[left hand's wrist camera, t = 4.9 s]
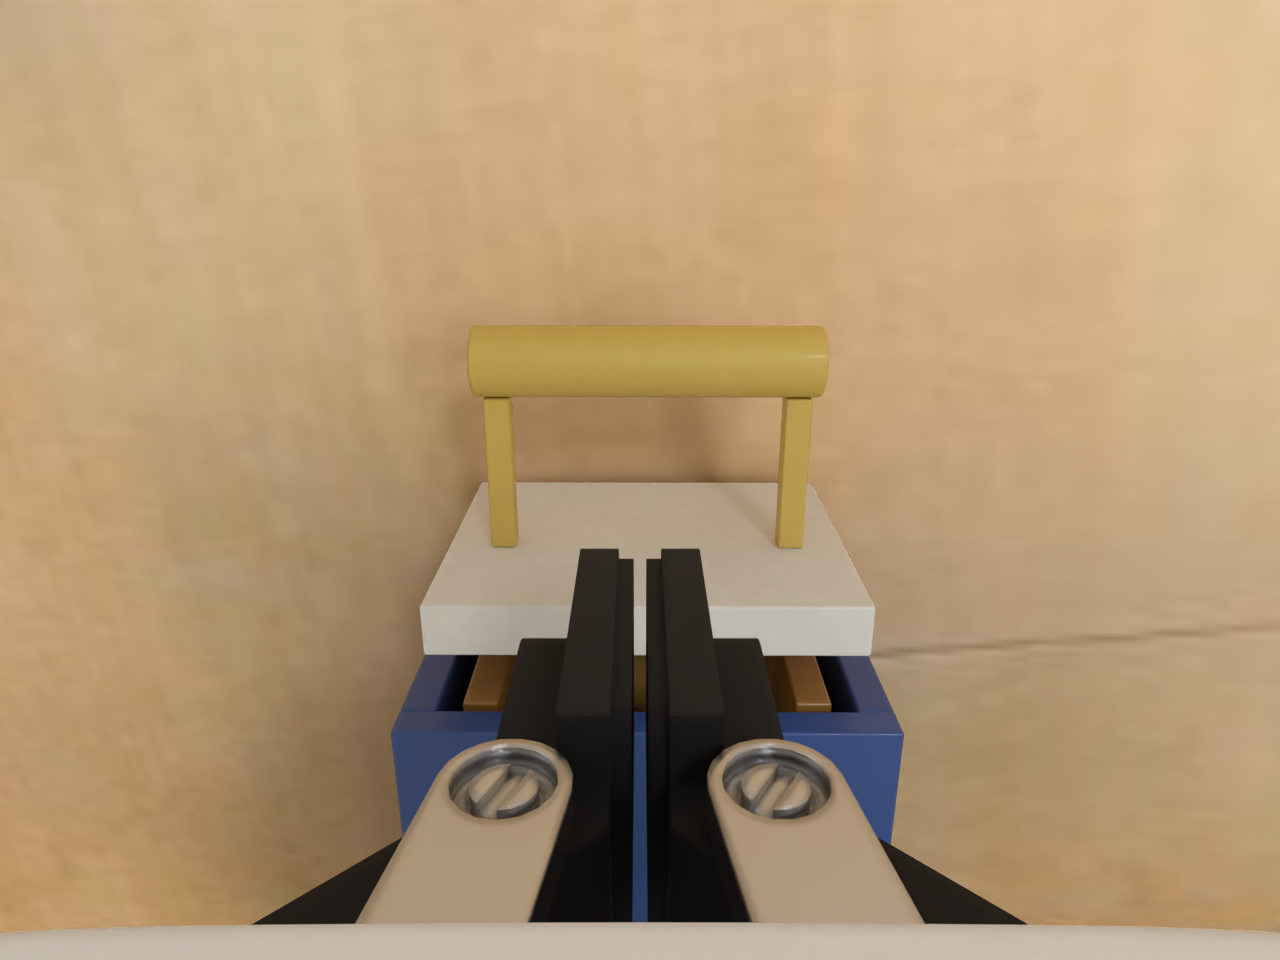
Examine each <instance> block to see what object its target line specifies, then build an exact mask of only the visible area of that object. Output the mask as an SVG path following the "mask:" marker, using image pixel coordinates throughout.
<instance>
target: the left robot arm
mask: <svg viewBox="0 0 1280 960" xmlns="http://www.w3.org/2000/svg"><path fill="white" fill-rule="evenodd" d="M633 814H634V559H619V549H580V554H579V561H578V567H577V574H576V580H575V587H574V594H573V600H572V607H571V614H570V620H569V627H568V634H567V638H522V639H521V641H520V644H519V648H518V652H517V656H516V660H515V664H514V668H513V673H512V677H511V681H510V685H509V689H508V693H507V697H506V701H505V705H504V709H503V713H502V717H501V721H500V726H499V730H498V734H497V738H496V740H495V741H490V742H485V743H481V744H478V745H476V746H474V747H471V748H469V749H466V750H464V751H462V752H461V753H459V754H458V755H457V756H455V757H454V758H452V759H451V760H450V761H448V762H447V764H446V765H445V766H444V767H443V769H442V770H441V771H440V772H439V773H438V775H437V777H436V778H435V780H434V782H433V784H432V786H431V787H430V789H429V791H428V793H427V795H426V796H425V798H424V800H423V802H422V804H421V806H420V807H419V809H418V811H417V813H416V815H415V816H414V818H413V820H412V822H411V824H410V825H409V827H408V829H407V831H406V833H405V834H404V836H403V837H402V838H400V839H399V840H397V841H395V842H394V843H392V844H390V845H388V846H387V847H385V848H383V849H381V850H380V851H378V852H376V853H375V854H373V855H371V856H369V857H368V858H366V859H364V860H362V861H361V862H359V863H357V864H356V865H354V866H352V867H350V868H349V869H347V870H345V871H343V872H342V873H340V874H338V875H337V876H335V877H333V878H331V879H330V880H328V881H326V882H324V883H323V884H321V885H319V886H318V887H316V888H314V889H312V890H311V891H309V892H307V893H305V894H304V895H302V896H300V897H299V898H297V899H295V900H293V901H292V902H290V903H288V904H286V905H285V906H283V907H281V908H280V909H278V910H276V911H274V912H273V913H271V914H269V915H268V916H266V917H264V918H262V919H261V920H259V921H257V922H255V923H254V924H252V925H163V926H126V927H100V928H73V929H47V930H22V931H12V932H2V933H0V960H1280V933H1278V932H1268V931H1258V930H1234V929H1207V928H1181V927H1154V926H1117V925H1028V924H1026V923H1025V922H1023V921H1021V920H1019V919H1018V918H1016V917H1014V916H1012V915H1011V914H1009V913H1007V912H1006V911H1004V910H1002V909H1000V908H999V907H997V906H995V905H993V904H992V903H990V902H988V901H987V900H985V899H983V898H981V897H980V896H978V895H976V894H975V893H973V892H971V891H969V890H968V889H966V888H964V887H962V886H961V885H959V884H957V883H956V882H954V881H952V880H950V879H949V878H947V877H945V876H943V875H942V874H940V873H938V872H937V871H935V870H933V869H931V868H930V867H928V866H926V865H924V864H923V863H921V862H919V861H918V860H916V859H914V858H912V857H911V856H909V855H907V854H905V853H904V852H902V851H900V850H899V849H897V848H895V847H893V846H892V845H890V844H888V843H886V842H885V841H883V840H881V839H880V838H878V837H877V836H876V834H875V833H874V831H873V829H872V827H871V825H870V824H869V822H868V820H867V818H866V816H865V815H864V813H863V811H862V809H861V807H860V806H859V804H858V802H857V800H856V798H855V796H854V795H853V793H852V791H851V789H850V787H849V786H848V784H847V782H846V780H845V778H844V777H843V775H842V773H841V772H840V771H839V770H838V769H837V767H836V766H835V765H834V764H833V762H832V761H830V760H829V759H828V758H826V757H825V756H823V755H822V754H821V753H819V752H818V751H816V750H814V749H811V748H809V747H806V746H804V745H802V744H799V743H795V742H790V741H785V740H784V738H783V734H782V730H781V726H780V721H779V717H778V713H777V709H776V705H775V701H774V697H773V693H772V689H771V685H770V681H769V677H768V673H767V668H766V664H765V660H764V656H763V652H762V648H761V644H760V641H759V639H758V638H713V634H712V627H711V620H710V614H709V607H708V600H707V594H706V587H705V581H704V574H703V567H702V561H701V554H700V549H661V559H646V814H647V916H648V922H632V915H633Z"/></svg>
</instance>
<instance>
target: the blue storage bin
mask: <svg viewBox="0 0 1280 960" xmlns="http://www.w3.org/2000/svg"><path fill="white" fill-rule="evenodd" d="M478 656H479V655H426V654H425V657H424V659H423V661H422V663H421V666H420V668H419V670H418V672H417V675H416V677H415V679H414V682H413V684H412V686H411V688H410V691H409V693H408V695H407V697H406V700H405V702H404V704H403V707H402V709H401V712H400V713H399V715H398V718H397V720H396V722H395V724H394V727H393V729H392V731H391V739H392V748H393V756H394V765H395V774H396V783H397V791H398V800H399V809H400V818H401V826H402V835H403V836H404V834H405V833H406V831H407V829H408V827H409V825H410V824H411V822H412V820H413V818H414V816H415V815H416V813H417V811H418V809H419V807H420V806H421V804H422V802H423V800H424V798H425V796H426V795H427V793H428V791H429V789H430V787H431V786H432V784H433V782H434V780H435V778H436V777H437V775H438V773H439V772H440V771H441V770H442V769H443V767H444V766H445V765H446V764H447V762H448V761H450V760H451V759H452V758H454V757H455V756H457V755H458V754H459V753H461V752H462V751H464V750H466V749H469V748H471V747H474V746H476V745H478V744H481V743H485V742H490V741H495V740H496V738H497V734H498V730H499V726H500V721H501V717H502V713H503V711H463V702H464V699H465V696H466V693H467V690H468V687H469V684H470V681H471V678H472V675H473V672H474V669H475V666H476V663H477V659H478ZM815 657H816V660H817V663H818V666H819V669H820V672H821V675H822V678H823V681H824V684H825V687H826V690H827V693H828V695H829V698H830V701H831V704H832V705H831V712H777V713H778V717H779V721H780V726H781V730H782V734H783V738H784V740H785V741H790V742H795V743H799V744H802V745H804V746H806V747H809V748H811V749H814V750H816V751H818V752H819V753H821V754H822V755H823V756H825V757H826V758H828V759H829V760H830V761H832V762H833V764H834V765H835V766H836V767H837V769H838V770H839V771H840V772H841V773H842V775H843V777H844V778H845V780H846V782H847V784H848V786H849V787H850V789H851V791H852V793H853V795H854V796H855V798H856V800H857V802H858V804H859V806H860V807H861V809H862V811H863V813H864V815H865V816H866V818H867V820H868V822H869V824H870V825H871V827H872V829H873V831H874V833H875V834H876V836H877V837H878V838H880V839H881V840H883V841H885V842H886V843H888V844H890V845H891V837H892V828H893V820H894V812H895V804H896V796H897V787H898V779H899V771H900V763H901V755H902V746H903V738H904V733H903V731H902V729H901V727H900V724H899V722H898V720H897V718H896V715H895V714H894V712H893V710H892V707H891V705H890V703H889V701H888V698H887V696H886V694H885V692H884V689H883V687H882V685H881V683H880V681H879V678H878V676H877V674H876V672H875V669H874V667H873V665H872V663H871V661H870V658H869V656H815ZM632 922H648V916H647V814H646V712H634V814H633V915H632Z"/></svg>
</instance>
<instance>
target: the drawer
mask: <svg viewBox="0 0 1280 960" xmlns="http://www.w3.org/2000/svg"><path fill="white" fill-rule="evenodd" d="M828 365H829V350H828V340H827V335H826V332H825V329H824V328H823V327H821V326H474V327H472V328H471V330H470V333H469V337H468V345H467V371H468V379H469V385H470V388H471V391H472V393H473V395H474V396H477V397H485V398H484V399H483V415H484V431H485V447H486V463H487V479H488V482H482V483H481V485H480V487H479V489H478V491H477V493H476V495H475V497H474V499H473V501H472V503H471V505H470V507H469V509H468V511H467V513H466V515H465V517H464V519H463V521H462V523H461V525H460V527H459V529H458V531H457V533H456V535H455V537H454V539H453V541H452V543H451V545H450V547H449V549H448V551H447V553H446V555H445V557H444V559H443V561H442V563H441V565H440V567H439V569H438V571H437V573H436V575H435V577H434V579H433V581H432V583H431V585H430V587H429V589H428V591H427V593H426V595H425V597H424V599H423V601H422V603H421V605H420V618H421V628H422V639H423V649H424V654H426V655H479V656H478V659H477V663H476V666H475V669H474V672H473V675H472V678H471V681H470V684H469V687H468V690H467V693H466V696H465V699H464V702H463V711H503V709H504V705H505V701H506V697H507V693H508V689H509V685H510V681H511V677H512V673H513V668H514V664H515V660H516V656H517V652H518V648H519V644H520V641H521V639H522V638H567V634H568V627H569V620H570V614H571V607H572V600H573V594H574V587H575V580H576V574H577V567H578V561H579V554H580V549H619V559H634V712H646V559H661V549H700V554H701V561H702V567H703V574H704V581H705V587H706V594H707V600H708V607H709V614H710V620H711V627H712V634H713V638H758V639H759V641H760V644H761V648H762V652H763V656H764V660H765V664H766V668H767V673H768V677H769V681H770V685H771V689H772V693H773V697H774V701H775V705H776V709H777V712H831V705H832V704H831V701H830V698H829V695H828V693H827V690H826V687H825V684H824V681H823V678H822V675H821V672H820V669H819V666H818V663H817V660H816V657H815V656H870V654H871V649H872V639H873V629H874V619H875V610H876V608H875V606H874V604H873V602H872V600H871V598H870V596H869V594H868V592H867V590H866V588H865V586H864V585H863V583H862V581H861V579H860V577H859V575H858V573H857V571H856V569H855V567H854V565H853V563H852V561H851V559H850V557H849V555H848V553H847V551H846V549H845V547H844V546H843V544H842V542H841V540H840V538H839V536H838V534H837V532H836V530H835V528H834V526H833V524H832V522H831V520H830V518H829V516H828V514H827V512H826V510H825V508H824V507H823V505H822V503H821V501H820V499H819V497H818V495H817V493H816V491H815V489H814V487H813V485H812V483H807V476H808V462H809V447H810V433H811V418H812V404H813V401H812V399H811V397H820V396H822V394H823V392H824V390H825V387H826V382H827V376H828ZM512 397H783V405H782V422H781V440H780V457H779V475H778V483H614V482H516V470H515V450H514V430H513V411H512Z"/></svg>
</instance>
